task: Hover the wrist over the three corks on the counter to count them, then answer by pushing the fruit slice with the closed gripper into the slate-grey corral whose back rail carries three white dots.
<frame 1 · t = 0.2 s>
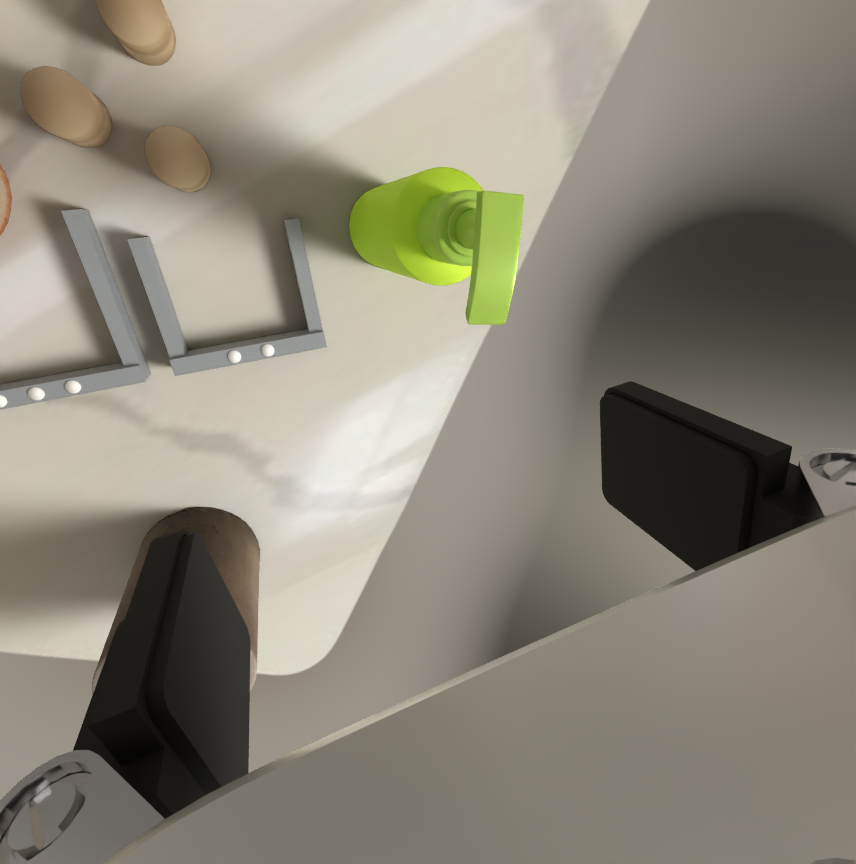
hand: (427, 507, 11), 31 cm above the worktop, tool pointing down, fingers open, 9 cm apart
cork b: (81, 117, 29), on the worktop
corral three: (14, 312, 32), on the worktop
corral two: (232, 279, 35), on the worktop
cork a: (145, 33, 29), on the worktop
soap dispenser: (385, 235, 37), on the worktop
pillar candle: (201, 553, 43), on the worktop
cork c: (184, 165, 32), on the worktop
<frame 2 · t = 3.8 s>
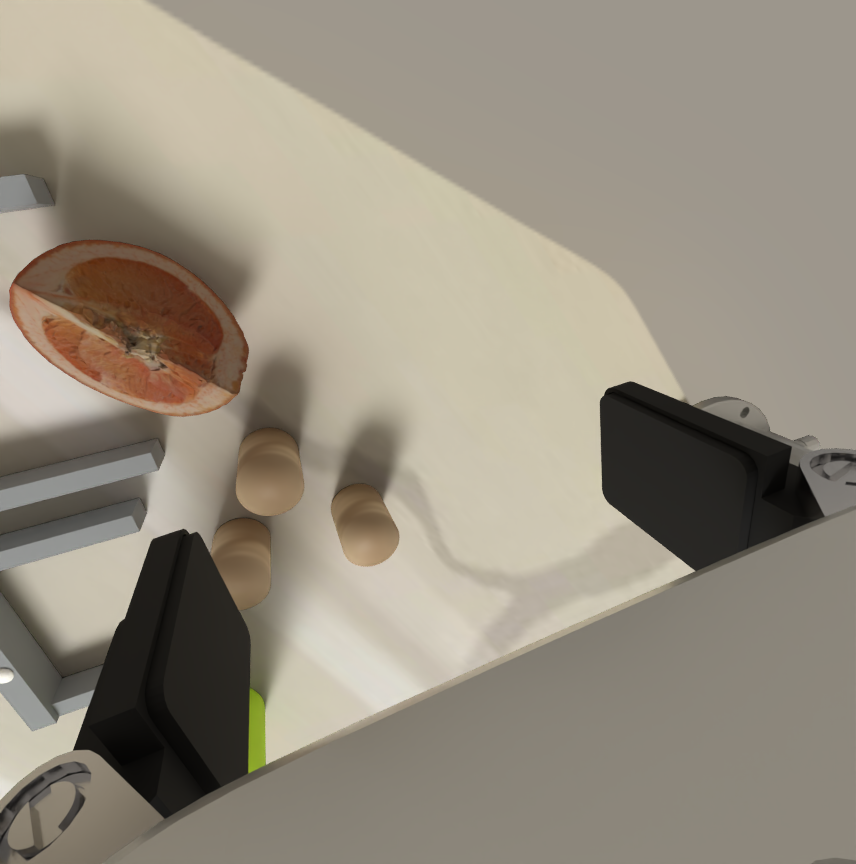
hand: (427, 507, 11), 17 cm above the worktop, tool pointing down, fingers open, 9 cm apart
cork b: (269, 454, 27), on the worktop
corral two: (112, 595, 27), on the worktop
cork a: (356, 506, 30), on the worktop
soap dispenser: (211, 715, 33), on the worktop
fruit slice: (156, 326, 23), on the worktop
cork c: (242, 541, 28), on the worktop
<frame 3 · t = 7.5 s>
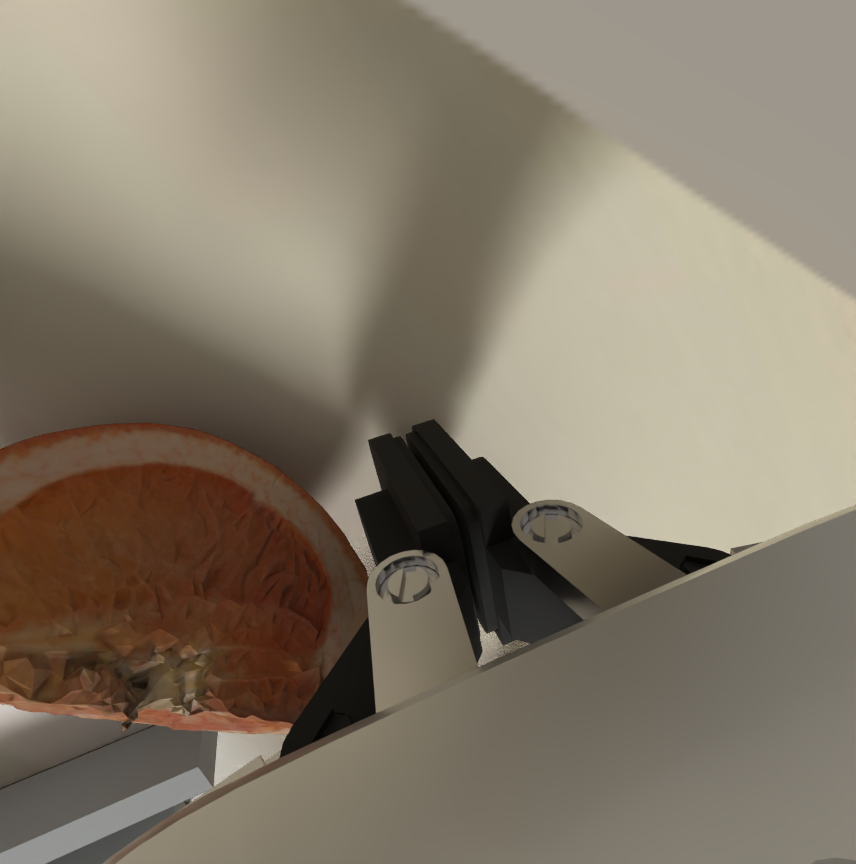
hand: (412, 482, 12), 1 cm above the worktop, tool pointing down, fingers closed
fruit slice: (184, 535, 12), on the worktop, touching gripper
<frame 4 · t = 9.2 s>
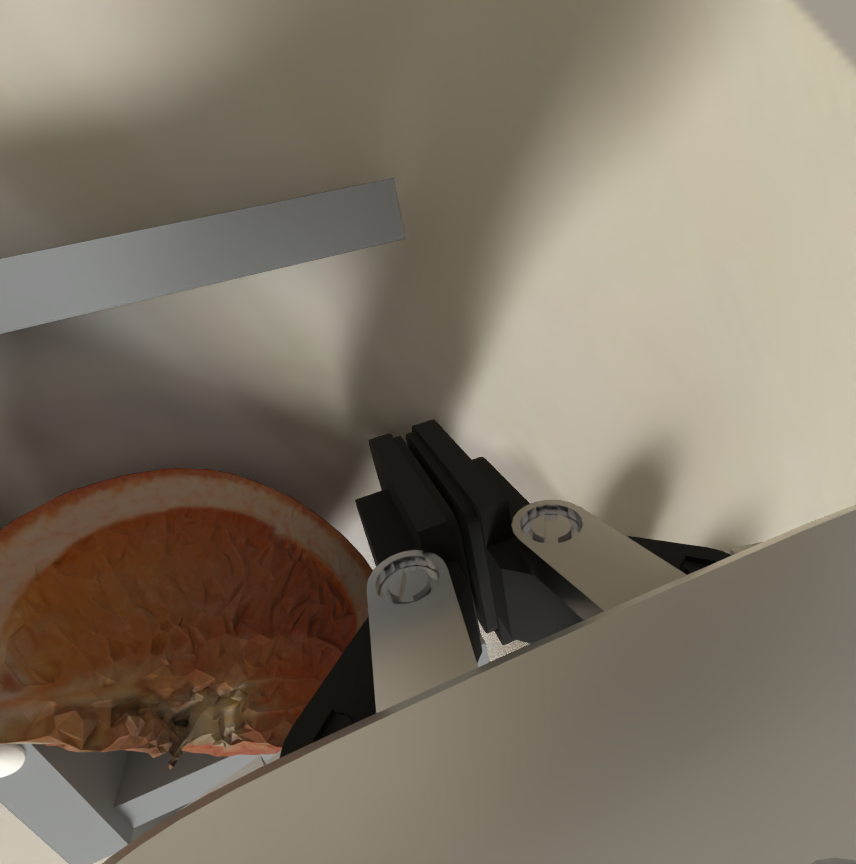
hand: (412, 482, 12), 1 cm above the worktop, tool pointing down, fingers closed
corral three: (220, 524, 12), on the worktop
corral two: (363, 817, 18), on the worktop
fruit slice: (209, 565, 12), resting in corral three, touching gripper
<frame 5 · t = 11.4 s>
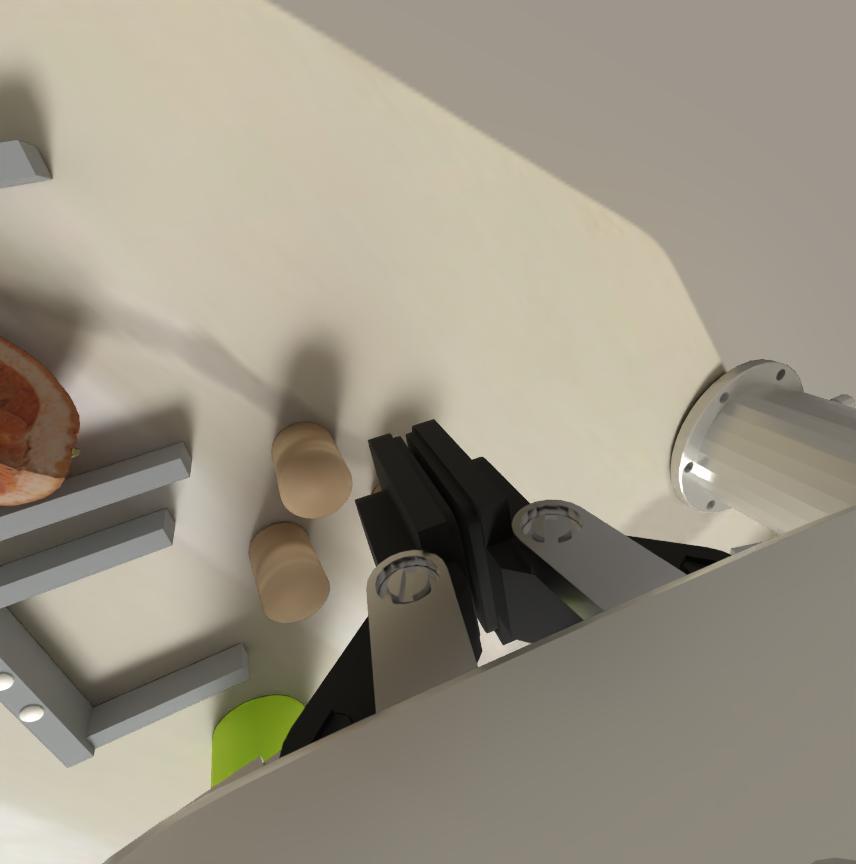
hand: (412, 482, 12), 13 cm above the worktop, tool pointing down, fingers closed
cork b: (303, 450, 25), on the worktop
corral two: (142, 615, 25), on the worktop
soap dispenser: (252, 729, 31), on the worktop
cork c: (279, 547, 26), on the worktop, tilted 7°
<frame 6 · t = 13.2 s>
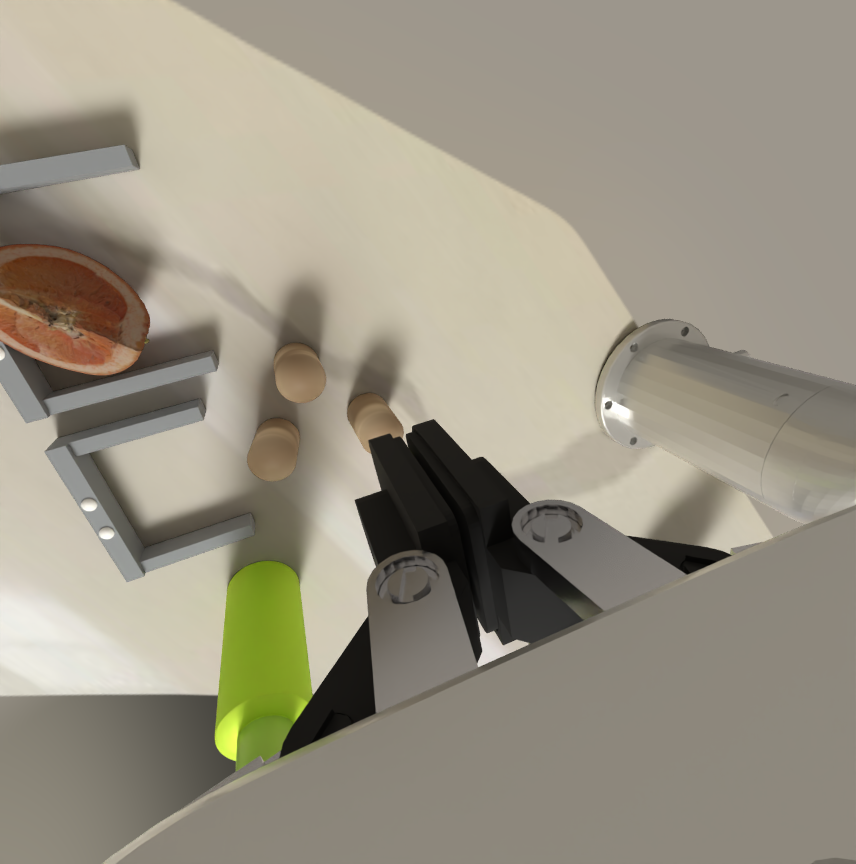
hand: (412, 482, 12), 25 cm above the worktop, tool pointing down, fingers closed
cork b: (296, 364, 35), on the worktop
corral three: (85, 287, 29), on the worktop
corral two: (181, 479, 35), on the worktop
cork a: (367, 411, 37), on the worktop, tilted 8°
soap dispenser: (257, 589, 41), on the worktop
fruit slice: (83, 308, 29), resting in corral three
cork c: (278, 438, 36), on the worktop, tilted 8°
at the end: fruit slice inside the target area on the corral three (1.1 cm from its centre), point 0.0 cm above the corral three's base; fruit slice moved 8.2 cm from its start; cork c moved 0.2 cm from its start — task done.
